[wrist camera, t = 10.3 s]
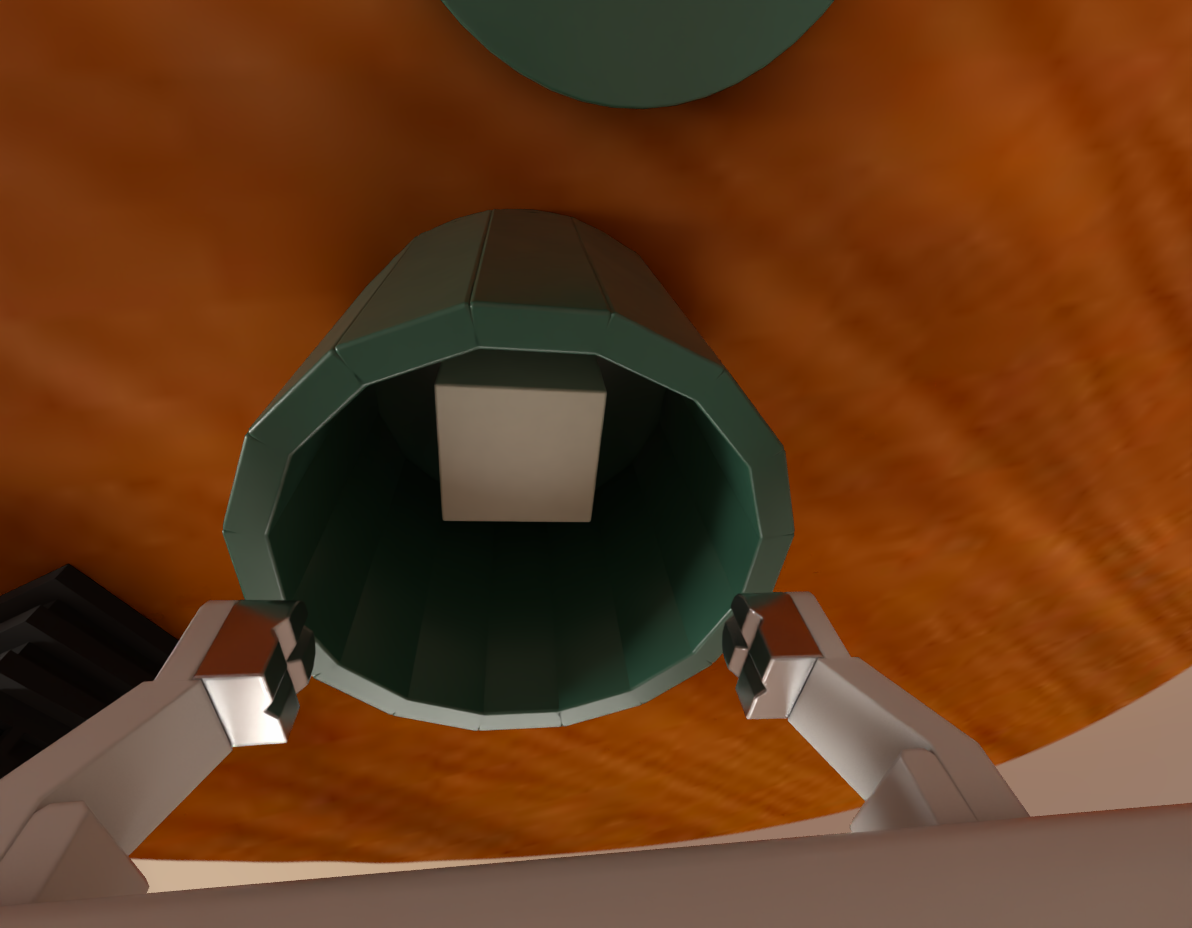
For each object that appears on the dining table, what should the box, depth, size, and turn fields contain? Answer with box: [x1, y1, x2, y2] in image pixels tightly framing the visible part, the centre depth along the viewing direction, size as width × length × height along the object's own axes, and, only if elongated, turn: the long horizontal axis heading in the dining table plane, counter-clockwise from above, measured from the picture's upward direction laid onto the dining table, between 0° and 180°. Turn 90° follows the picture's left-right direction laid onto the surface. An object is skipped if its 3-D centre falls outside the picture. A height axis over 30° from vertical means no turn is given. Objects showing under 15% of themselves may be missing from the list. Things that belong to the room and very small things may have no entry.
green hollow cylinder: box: [222, 209, 794, 731], centre depth 16 cm, size 12×12×10 cm
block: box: [434, 349, 607, 522], centre depth 17 cm, size 4×4×4 cm
